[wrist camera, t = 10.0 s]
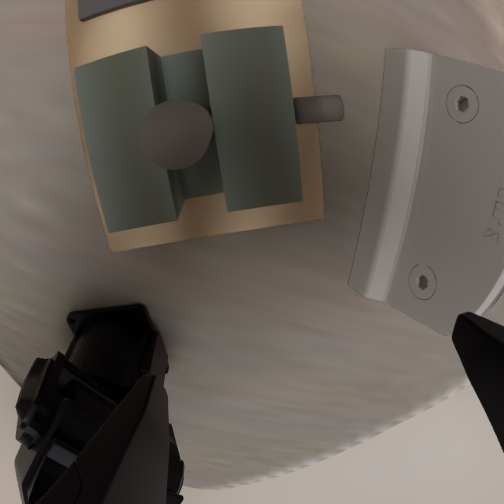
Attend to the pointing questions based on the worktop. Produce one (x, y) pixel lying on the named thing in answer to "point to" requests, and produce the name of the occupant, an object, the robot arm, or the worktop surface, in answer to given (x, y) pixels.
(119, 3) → the mat
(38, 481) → the robot arm
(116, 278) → the worktop surface
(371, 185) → the grey arched bracket
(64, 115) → the worktop surface
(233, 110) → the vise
